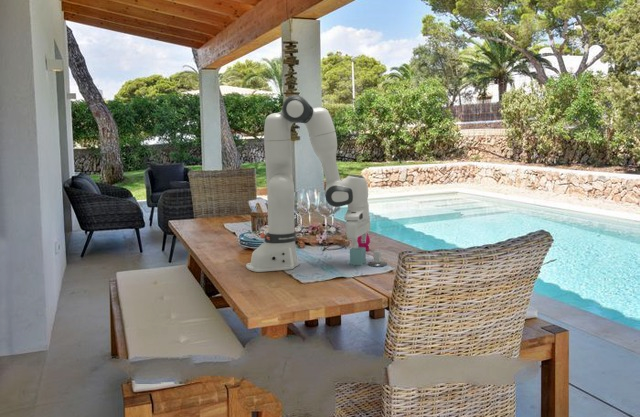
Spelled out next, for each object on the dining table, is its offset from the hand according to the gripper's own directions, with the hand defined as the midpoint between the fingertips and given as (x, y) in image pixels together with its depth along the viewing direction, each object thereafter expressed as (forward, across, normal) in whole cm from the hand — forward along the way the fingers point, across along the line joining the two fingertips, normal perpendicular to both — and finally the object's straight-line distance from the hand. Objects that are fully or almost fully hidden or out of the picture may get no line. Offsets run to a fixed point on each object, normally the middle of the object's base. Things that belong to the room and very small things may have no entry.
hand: (359, 245), depth 251 cm
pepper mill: (+8, -25, -8) cm, 28 cm away
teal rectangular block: (+8, 0, -1) cm, 8 cm away
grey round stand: (+8, 0, +8) cm, 11 cm away
